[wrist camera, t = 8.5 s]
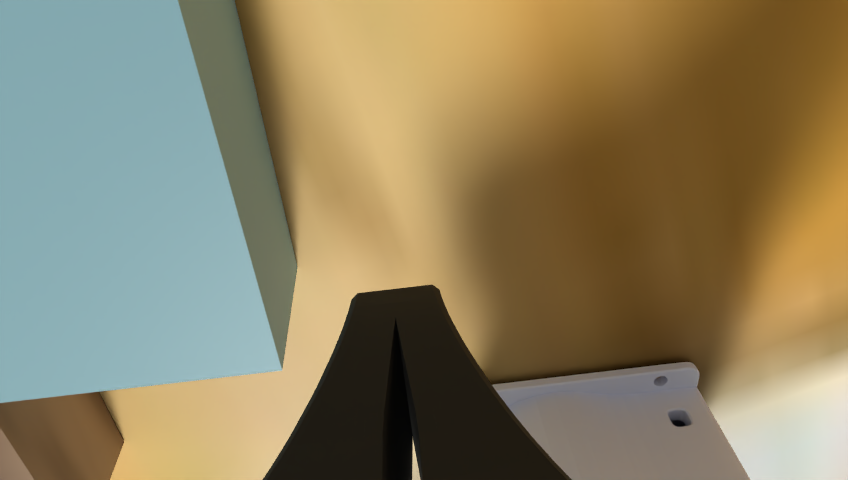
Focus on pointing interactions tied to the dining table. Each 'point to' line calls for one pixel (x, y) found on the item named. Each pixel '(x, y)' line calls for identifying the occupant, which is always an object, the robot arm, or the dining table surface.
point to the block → (135, 200)
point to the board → (58, 439)
